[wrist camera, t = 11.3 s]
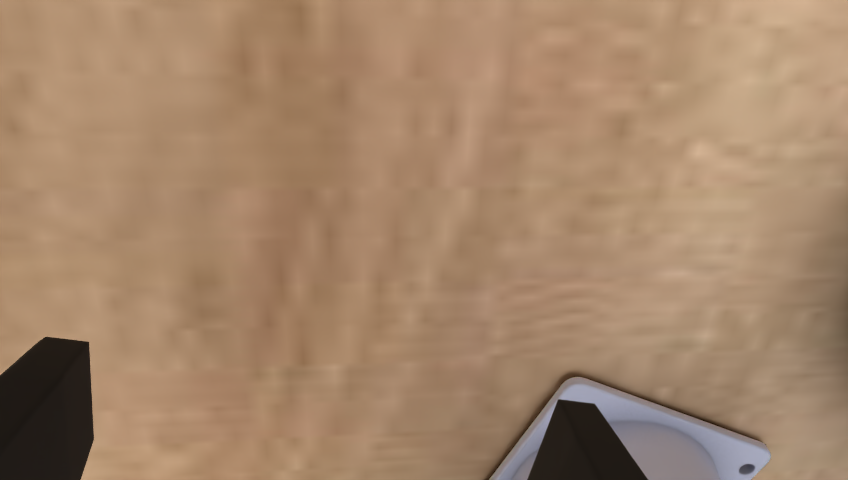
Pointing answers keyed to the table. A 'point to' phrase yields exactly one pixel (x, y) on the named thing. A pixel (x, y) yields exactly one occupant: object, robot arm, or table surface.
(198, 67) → the table surface
